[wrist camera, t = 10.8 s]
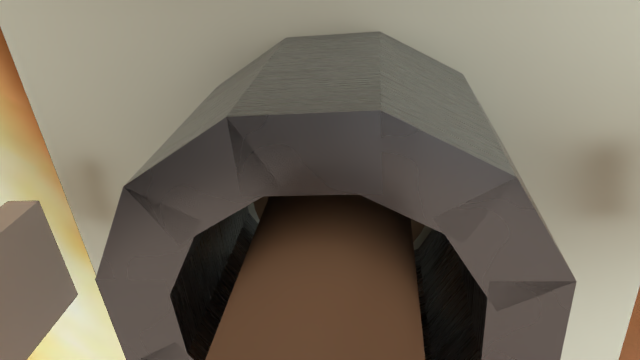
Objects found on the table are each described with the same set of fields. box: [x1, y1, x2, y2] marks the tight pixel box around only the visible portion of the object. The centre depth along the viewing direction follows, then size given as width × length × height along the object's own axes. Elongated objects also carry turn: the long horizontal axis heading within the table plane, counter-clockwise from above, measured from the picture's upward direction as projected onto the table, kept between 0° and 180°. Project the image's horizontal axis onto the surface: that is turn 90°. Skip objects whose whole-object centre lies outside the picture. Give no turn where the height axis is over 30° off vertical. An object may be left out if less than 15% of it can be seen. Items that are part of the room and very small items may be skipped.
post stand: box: [0, 0, 640, 360], centre depth 10 cm, size 16×16×10 cm
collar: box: [95, 31, 577, 360], centre depth 11 cm, size 8×8×5 cm
